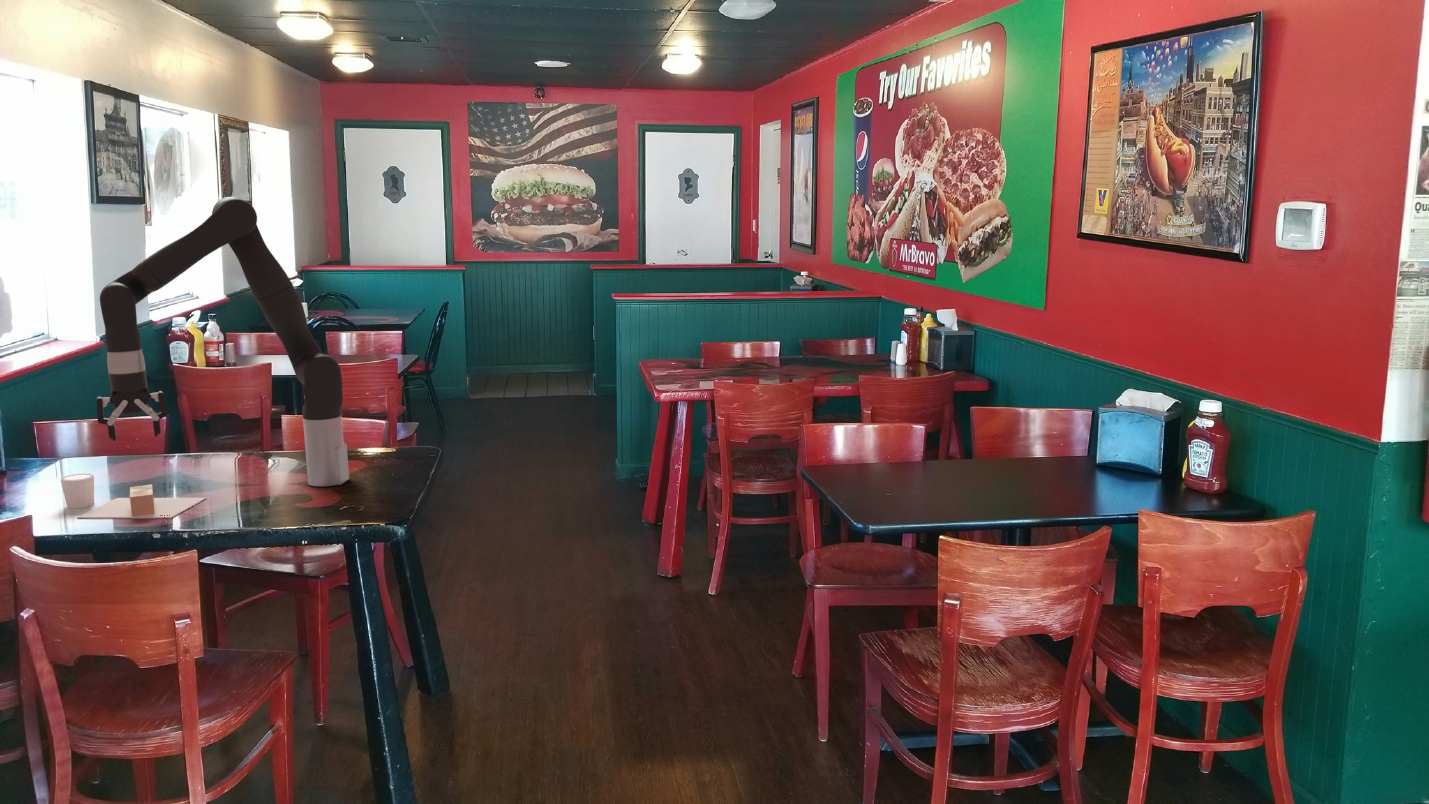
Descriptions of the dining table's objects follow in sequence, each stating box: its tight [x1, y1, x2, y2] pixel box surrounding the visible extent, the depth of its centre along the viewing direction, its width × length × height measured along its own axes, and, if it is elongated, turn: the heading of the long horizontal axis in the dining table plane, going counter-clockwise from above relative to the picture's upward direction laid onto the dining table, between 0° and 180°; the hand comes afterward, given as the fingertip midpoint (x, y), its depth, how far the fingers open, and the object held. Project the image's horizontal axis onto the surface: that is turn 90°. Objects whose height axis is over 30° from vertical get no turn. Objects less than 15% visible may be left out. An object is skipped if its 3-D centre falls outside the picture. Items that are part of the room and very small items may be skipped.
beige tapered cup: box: [59, 473, 95, 509], centre depth 253 cm, size 7×7×7 cm
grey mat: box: [76, 497, 207, 520], centre depth 250 cm, size 22×16×1 cm
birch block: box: [129, 484, 155, 516], centre depth 248 cm, size 5×5×10 cm
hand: (135, 438), depth 247 cm, fingers open, 8 cm apart
